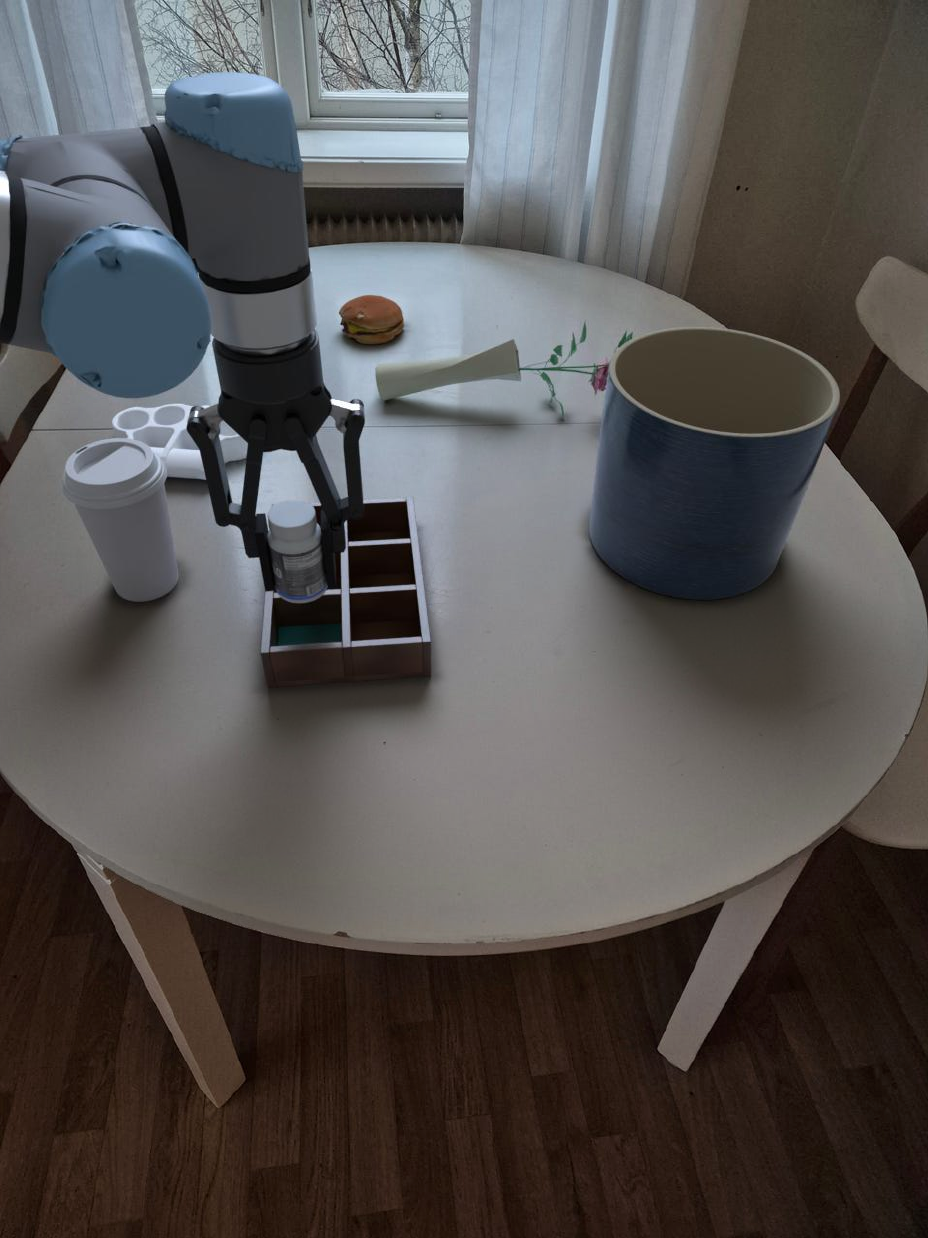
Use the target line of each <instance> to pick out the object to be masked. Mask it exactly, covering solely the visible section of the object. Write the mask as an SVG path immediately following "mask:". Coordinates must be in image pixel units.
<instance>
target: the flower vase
mask: <svg viewBox="0 0 928 1238" xmlns="http://www.w3.org/2000/svg"><path fill="white" fill-rule="evenodd" d="M627 332H628V330H627V329H625V331H624V333H623V335H622V338H621V339H620V340H619V342H618V344H617V347H615V348H614V351H613V354H614V353H615V352H616V350H617V349H618V348H619V347H621V346H622V345H623V344H625V343H626V342H628V341H629V340H631V339H633V335H634V331H631V332H630V333H629V334H628V333H627ZM627 334H628V335H627ZM586 338H587V325H586V321H584V323H583V327H582V330H581V336H580V339H579V342H578V343H577V344H576V337H575V334H574V332H572V340H571V344H570V351H569V353H568V356H567V358H565V360H564V361H563V362H562V363H561V364H560V365H559V366H557V365H558V364H559V357H561V358H562V357H563V344H559V345H556V346H555V347H554V348H553V349H552V351H553V352H554V353H555V354H554V353H553V354H551V355H550V357H549V359H548V360H547V361H543V362H539V363H534V364H530V365H527V366H524V367H521V366H520V365H521V364H520V355H519V348H518V346H517V344H516V341H515V339H514V338H513V339H510V340H508V341H506V342H503V343H501V344H498V345H497V346H494V347H492V348H488V349H485V350H483V351H479V352H475V353H474V352H473V353H470V354H465V355H459V356H453V357H448V358H441V359H439V358H438V359H433V360H431V359H430V360H418V361H417V360H414V361H403V362H391V363H380V364H376V366H375V375H374V376H375V383H376V388H377V392H378V395H379V397H380V400H381V401H388V400H393V399H396V398H401V397H405V396H408V395H412V394H417V393H421V392H425V391H428V390H432V389H436V388H441V387H446V386H451V385H459V384H466V383H472V382H473V383H474V382H480V381H492V380H493V381H494V380H497V381H499V380H501V381H514V382H522V375H521V371H537V372H538V373H535V372H534V375H538V376H540V378H541V379H542V381H545V382H546V384H547V386H548V388H549V391H550V394H551V396H550V399H549V402H548V404H552V402H553V399H554V400H555V401H556V402H558V404H559V406H560V410H561V415H562V421H565V419H564V417H565V412H564V406H563V404H562V402H560V401H559V400H557V398H556V397H555V396H556V392H555V385H554V384H553V383H552V380H551V378H550V377H549V375H548V374H547V373H546V372H545V371H548V372H549V371H551V372H552V371H553V372H569V373H579V374H584V375H591V377H590V379H589V380H588V381H587V382H588V383H590V385H591V387H592V388H593V391H594V396H596V395H597V394H598V392H604V391H606V384H607V376H608V369H609V363H610V360H608V357H605V359H604V360H603V361H601V362H600V363H598V364H596V363H595V362H594V363H593V364H592V365H572V366H570V365H568V366H562V365H563V364H565V363H566V362H567V361H568V360H569V358H570V357H572V356H573V355H574V354H575V353H576V352H577V350H578V349H577V348H578V347H577V345H579V344H582V343H584V342H585V341H586ZM558 356H559V357H558ZM549 362H550V363H551V364H552V365H553V366H549V367H547V364H548V363H549ZM540 364H545V365H544V367H531V366H535V365H540ZM591 368H593V371H587V370H586V371H585V370H580V369H591ZM540 371H542V372H540Z"/></svg>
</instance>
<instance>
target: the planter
mask: <svg viewBox="0 0 928 1238" xmlns="http://www.w3.org/2000/svg"><path fill="white" fill-rule="evenodd" d="M609 361H610V363H609V362H608V363H609V369H608V376H607V384H606V386H605V387H606V389H605V390H604V391H605V392H604V398H603V407H602V412H601V413H602V414H601V420H600V430H599V437H598V446H597V452H596V461H595V472H594V480H593V489H592V490H593V491H592V498H591V499H592V500H591V507H590V516H589V522H588V523H589V525H588V526H589V527H588V529H589V530H588V531H589V537H590V541H591V544H592V546H593V548H594V550H595V552H596V553H597V555H598V557H599V558H600V559H601V560H602V561H603V562H604V563H605V564H606V565H607V566H608V567H609V568H610V569H611V570H612V571H613V572H615V573H616V574H617V575H619V576H620V577H622V578H623V579H624V580H627V581H628V582H630V583H632V584H634V585H636V586H638V587H641V588H642V589H645V590H648V591H651V592H653V593H657V594H660V595H664V596H667V597H668V596H669V597H673V598H679V599H686V600H697V601H698V600H699V601H701V600H702V601H706V600H708V601H709V600H710V601H711V600H720V599H726V598H732V597H735V596H740V595H742V594H746V593H747V592H749V591H751V590H754V589H755V588H757V587H759V586H760V585H762V584H764V582H765V581H767V579H768V578H769V577H771V575H772V574H773V572H774V571H775V569H776V567H777V565H778V562H779V560H780V558H781V555H782V552H783V551H784V547H785V545H786V543H787V540H788V537H789V535H790V533H791V530H792V527H793V525H794V522H795V520H796V518H797V515H798V513H799V510H800V508H801V506H802V503H803V501H804V498H805V495H806V493H807V491H808V488H809V486H810V483H811V480H812V477H813V475H814V472H815V470H816V467H817V464H818V462H819V459H820V456H821V454H822V451H823V448H824V447H825V446H824V445H825V443H826V440H827V438H828V435H829V432H830V430H831V427H832V425H833V421H834V419H835V416H836V414H837V412H838V408H839V405H840V402H841V391H840V388H839V385H838V383H837V381H836V379H835V378H834V376H833V375H832V374H831V373H830V372H829V371H828V369H826V367H824V366H823V364H821V363H820V362H818V361H817V360H816V359H815V358H813V357H812V356H810V355H808V354H807V353H805V352H803V351H802V350H799V349H797V348H795V347H793V346H791V345H788V344H787V343H783V342H781V341H778V340H776V339H772V338H770V337H766V336H762V335H759V334H756V333H751V332H746V331H742V330H736V329H729V328H722V327H709V326H682V327H681V326H679V327H671V328H664V329H659V330H653V331H651V332H647V333H644V334H640V335H638V336H635V337H634V338H633V337H632V339H631V340H629V341H628V342H626V343H625V344H623V345H622V346H621V347H617V349H616V350H615V353H614V352H613V354H612V356H611V358H610V360H609Z"/></svg>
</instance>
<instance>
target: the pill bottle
mask: <svg viewBox="0 0 928 1238" xmlns="http://www.w3.org/2000/svg"><path fill="white" fill-rule="evenodd" d="M274 504H275V505H274V506H272V505H271V507H270V509H268V511H267V526H268V534H267V542H268V548H269V553H270V559H271V564H272V570H273V575H274V581H275V587H276V591H277V593H278V595H279V596H280V597H281V598H283V599H284V600H286V601H288V602H292V603H306V602H311V601H314V600H316V599H318V598H319V597H321V596H322V595H323V594H324V593H325V592H326V589H327V587H328V586H327V578H326V569H325V561H324V553H323V545H322V536H321V528H320V526H319V525H318V524H317V519H316V512H315V509H314V507H313V506H312V505H311V504H310V503H308V501H305V500H303V499H293V498H292V499H285V500H281V501H279V502H276V503H274Z"/></svg>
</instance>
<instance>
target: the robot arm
mask: <svg viewBox="0 0 928 1238" xmlns="http://www.w3.org/2000/svg"><path fill="white" fill-rule="evenodd" d="M164 105H165V111H164V113H163V116H164V121H163V122H157V123H152V124H151V125H149V126H140V127H131V128H120V129H119V128H118V129H108V130H97V131H96V130H95V131H87V132H86V131H85V132H76V133H75V132H74V133H66V134H56V135H55V134H53V135H41V136H30V137H28V136H23V135H21V134H17V135H13V136H10V137H8V138H7V139H5V140H0V344H3V345H4V344H5V345H10V346H13V347H18V348H23V349H29V350H32V351H37V352H43V353H48V354H52V355H53V356H54V357H56V358H58V359H59V362H61V364H62V365H63V366H64V367H65V369H66V370H67V371H68V372H69V373H71V374H72V375H73V376H74V377H75V378H76V379H78V380H79V381H80V382H81V383H83V384H85V385H86V386H88V387H90V388H91V389H94V390H96V391H98V392H100V393H103V394H105V395H107V396H111V397H114V398H121V399H143V398H149V397H155V396H157V395H160V394H163V393H165V392H168V391H170V390H172V389H174V388H176V387H178V386H179V385H180V384H182V383H184V382H185V381H186V380H187V379H188V378H190V376H191V375H192V374H193V373H194V372H195V370H197V369H198V367H199V366H200V364H201V362H202V361H203V359H204V357H205V355H206V352H207V350H208V348H209V347H208V346H209V345H210V342H211V340H212V342H211V347H212V351H213V357H214V361H215V367H216V372H217V377H218V382H219V383H218V384H219V387H220V395H219V397H218V403H216V404H213V405H209V406H210V407H208V408H205V409H204V408H203V407H201V406H202V405H192V406H193V407H192V408H191V409H190V413H189V418H188V422H187V428H186V429H187V432H188V433H189V435H190V436H191V438H192V439H193V441H194V442H195V444H196V445H197V447H198V448H199V450H200V454H201V459H202V463H203V468H204V472H205V477H206V480H205V481H206V486H207V490H208V494H209V498H210V503H211V508H212V512H213V516H214V521H215V524H216V525H217V526H218V527H221V528H225V527H228V526H234V527H236V528H238V529H239V530H240V533H241V538H242V542H243V547H244V552H245V555H246V556H247V557H248V559H256V558H257V559H258V560H259V564H260V570H261V574H262V581H263V585H264V586H263V587H264V593H265V592H267V591H274V584H275V581H274V575H273V570H272V564H271V559H270V553H269V548H268V542H267V534H268V531H269V525H268V519H267V516H266V513H264V512H261V513H257V507H258V506H257V505H258V498H259V490H260V481H261V475H262V474H261V473H262V465H263V458H264V453H272V452H276V451H279V450H283V451H289V452H296V454H297V456H298V459H299V461H300V463H301V464H303V466H304V468H305V471H306V473H307V475H308V478H309V480H310V481H311V482H310V483H311V485H312V487H313V489H314V492H315V494H316V496H317V499H318V502H320V504H321V506H322V508H323V510H321V536H322V545H323V553H324V561H325V569H326V578H327V586H328V588H332V587H336V563H335V554H334V553H342V552H344V551H345V549H346V537H345V526H344V523H345V522H346V521H347V520H348V519H351V518H353V519H360V518H362V517H363V516H364V504H363V500H364V491H363V489H364V488H363V475H362V463H361V451H360V450H361V449H360V439H361V436H362V433H363V430H364V427H365V424H366V415H365V404H364V401H362V399H360V398H353V399H351V400H350V401H349V402H346V401H343V400H339V399H335V398H333V397H332V394H331V392H330V391H329V389H328V388H327V387H326V384H325V382H324V375H323V374H324V373H323V365H322V357H321V347H320V336H319V333H318V330H316V327H317V324H318V320H317V319H318V317H317V316H318V315H317V307H316V298H315V288H314V287H315V286H314V278H313V270H312V266H311V259H310V250H309V249H310V248H309V238H308V226H307V213H306V201H305V199H306V198H305V190H304V189H305V188H304V177H303V176H304V175H303V172H304V170H305V169H304V168H305V167H304V162H303V160H302V157H301V151H300V150H301V149H300V144H299V137H298V132H297V131H298V130H297V125H296V120H295V114H294V113H295V112H294V108H293V103H292V100H291V98H290V95H289V94H288V92H287V91H286V89H285V88H284V87H283V86H282V85H280V84H279V83H277V82H276V81H275V80H273V79H271V78H269V77H267V76H263V75H259V74H255V73H247V72H235V71H232V72H229V71H227V72H226V71H225V72H224V71H223V72H222V71H221V72H219V71H218V72H205V73H199V74H197V75H196V76H186V77H185V76H184V77H181V78H178V79H176V80H174V81H172V82H171V83H170V84H169V86H167V87H166V90H165V92H164ZM192 259H195V262H196V265H195V263H194V261H193V260H192ZM211 336H212V337H213V338H212V339H211ZM329 417H332V418H333V419H334V422H335V423H334V426H335V428H336V430H338V431H339V432H340V433H341V434H342V445H343V446H342V447H343V459H344V469H345V479H346V492H347V496H345V497H343V498H341V496H340V493H339V491H338V489H337V486H336V484H335V481H334V478H333V476H332V474H331V471H330V469H329V465H328V463H327V461H326V458H325V457H324V453H323V452H322V449H321V446H320V444H319V441H318V440H319V439H318V436H317V434H318V432H319V431H320V429H321V428H322V426H323V425H324V423H325V422H326V421H327V420H328V418H329ZM221 421H224V422H226V423H227V424H228V425H229V426H230V427H231V428H232V429H233V430H234V431H235V432H236V433H237V434H238V435H239V436H241V437H242V438H243V439H244V440H245V441H246V442H247V443H248V447H247V457H246V458H245V466H244V477H243V484H242V486H243V487H242V494H241V503H240V504H238V503H234V501H233V498H232V492H231V488H230V483H229V477H228V473H227V467H226V463H224V458H223V453H222V448H221V443H220V438H219V435H220V431H221Z"/></svg>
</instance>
